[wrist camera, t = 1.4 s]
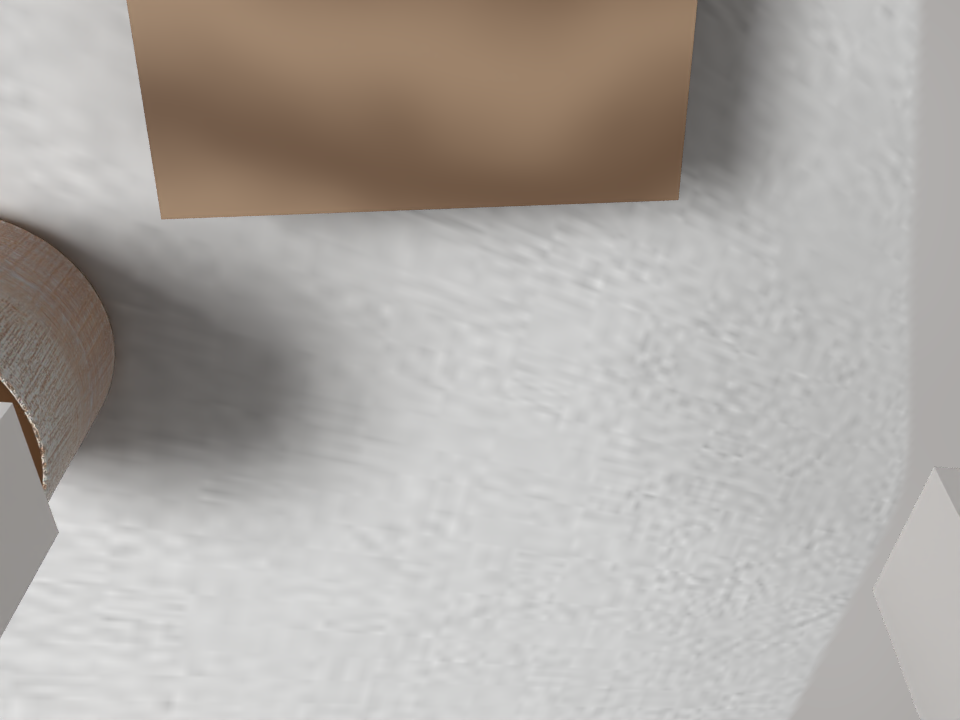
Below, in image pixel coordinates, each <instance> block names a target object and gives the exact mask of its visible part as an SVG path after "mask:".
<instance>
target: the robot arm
mask: <svg viewBox="0 0 960 720" xmlns="http://www.w3.org/2000/svg"><path fill="white" fill-rule="evenodd" d="M58 533H59V532H58V529H57V526H56V524H55V521H54V518H53V515H52V512H51V510H50V507H49V504H48V501H47V498H46V496H45V493H44V490H43V487H42V484H41V482H40V479H39V476H38V473H37V470H36V468H35V465H34V462H33V459H32V456H31V454H30V451H29V448H28V445H27V442H26V440H25V437H24V434H23V431H22V428H21V425H20V423H19V420H18V417H17V414H16V411H15V409H14V406H13V403H8V402H0V638H1V636H2V634H3V632H4V630H5V629H6V627H7V625H8V623H9V621H10V620H11V618H12V616H13V614H14V612H15V611H16V609H17V607H18V605H19V603H20V602H21V600H22V598H23V596H24V594H25V593H26V591H27V589H28V587H29V585H30V583H31V582H32V580H33V578H34V576H35V574H36V573H37V571H38V569H39V567H40V565H41V564H42V562H43V560H44V558H45V556H46V555H47V553H48V551H49V549H50V547H51V546H52V544H53V542H54V540H55V538H56V537H57V535H58ZM872 591H873V593H874V596H875V599H876V601H877V604H878V607H879V610H880V612H881V615H882V618H883V620H884V623H885V626H886V629H887V631H888V634H889V637H890V640H891V642H892V645H893V648H894V651H895V653H896V656H897V659H898V661H899V664H900V667H901V670H902V672H903V675H904V678H905V681H906V683H907V686H908V688H909V691H910V694H911V697H912V700H913V702H914V705H915V707H916V710H917V713H918V716H919V719H920V720H960V469H958V468H944V467H934V468H933V470H932V472H931V474H930V476H929V478H928V480H927V482H926V484H925V486H924V488H923V490H922V492H921V494H920V496H919V498H918V500H917V502H916V504H915V506H914V508H913V510H912V512H911V514H910V516H909V518H908V520H907V522H906V524H905V526H904V528H903V530H902V532H901V534H900V536H899V538H898V540H897V542H896V544H895V546H894V548H893V550H892V552H891V554H890V556H889V558H888V560H887V562H886V564H885V566H884V568H883V570H882V572H881V574H880V576H879V578H878V580H877V582H876V584H875V586H874V588H873V590H872Z"/></svg>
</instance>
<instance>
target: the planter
mask: <svg viewBox="0 0 960 720" xmlns="http://www.w3.org/2000/svg"><path fill="white" fill-rule="evenodd" d="M114 362H115V347H114V339H113V333H112V329H111V325H110V322H109V319H108V315H107V313H106V311H105V308H104V306H103V304H102V302H101V300H100V299H99V297H98V295H97V293H96V292H95V290H94V289H93V287H92V286H91V284H90V283H89V281H88V280H87V279H86V277H85V276H84V275H83V274H82V273H81V272H80V270H79V269H78V268H77V267H76V266H75V265H74V264H73V263H72V262H71V261H70V260H69V259H67V258H66V257H65V256H64V255H63V254H62V253H61V252H59V251H58V250H57V249H55V248H54V247H53V246H51V245H50V244H48V243H47V242H45V241H44V240H42V239H41V238H39V237H37V236H36V235H34V234H32V233H30V232H28V231H26V230H24V229H22V228H20V227H18V226H16V225H13V224H11V223H8V222H5V221H2V220H0V402H8V403H13V406H14V409H15V411H16V414H17V417H18V420H19V423H20V425H21V428H22V431H23V434H24V437H25V440H26V442H27V445H28V448H29V451H30V454H31V456H32V459H33V462H34V465H35V468H36V470H37V473H38V476H39V479H40V482H41V484H42V487H43V490H44V493H45V496H46V498H47V501H48V502H49V500H50V498H51V496H52V495H53V493H54V491H55V489H56V487H57V485H58V484H59V482H60V480H61V478H62V476H63V475H64V473H65V471H66V469H67V468H68V466H69V464H70V462H71V460H72V459H73V457H74V455H75V454H76V452H77V450H78V448H79V447H80V445H81V443H82V441H83V440H84V438H85V436H86V434H87V433H88V431H89V429H90V427H91V426H92V424H93V422H94V420H95V418H96V417H97V415H98V413H99V411H100V409H101V408H102V406H103V404H104V402H105V399H106V397H107V395H108V392H109V389H110V385H111V380H112V376H113V370H114Z"/></svg>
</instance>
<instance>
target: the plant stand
mask: <svg viewBox="0 0 960 720" xmlns="http://www.w3.org/2000/svg"><path fill="white" fill-rule="evenodd" d="M697 1H698V0H127V6H128V12H129V19H130V25H131V31H132V37H133V44H134V50H135V56H136V63H137V69H138V75H139V81H140V88H141V94H142V100H143V106H144V113H145V119H146V125H147V132H148V138H149V144H150V150H151V157H152V163H153V169H154V176H155V182H156V188H157V194H158V201H159V207H160V213H161V219H182V218H209V217H236V216H262V215H289V214H316V213H343V212H370V211H397V210H423V209H450V208H477V207H504V206H531V205H557V204H584V203H611V202H638V201H665V200H678V198H679V188H680V177H681V167H682V157H683V146H684V136H685V125H686V115H687V105H688V94H689V84H690V73H691V63H692V53H693V42H694V32H695V21H696V11H697Z"/></svg>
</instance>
